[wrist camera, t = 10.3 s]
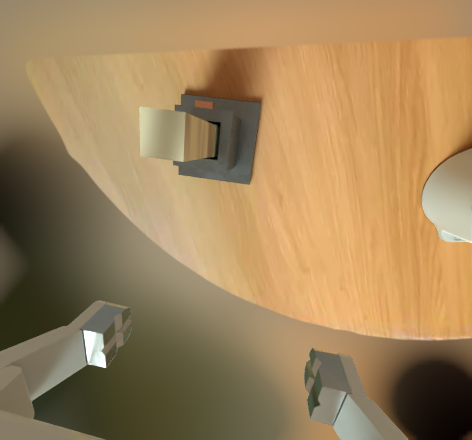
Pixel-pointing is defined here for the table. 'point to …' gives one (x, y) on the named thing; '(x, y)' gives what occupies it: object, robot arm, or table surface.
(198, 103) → the jack sleeve
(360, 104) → the table surface
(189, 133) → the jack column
